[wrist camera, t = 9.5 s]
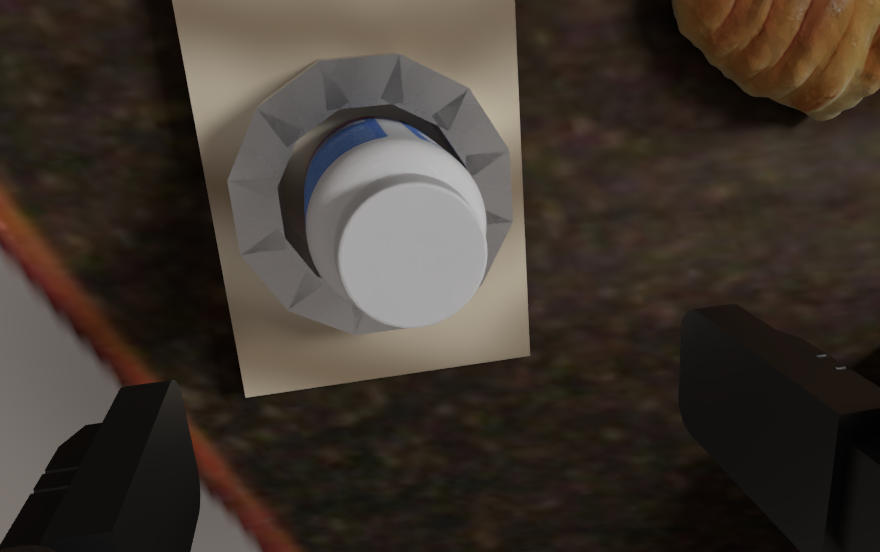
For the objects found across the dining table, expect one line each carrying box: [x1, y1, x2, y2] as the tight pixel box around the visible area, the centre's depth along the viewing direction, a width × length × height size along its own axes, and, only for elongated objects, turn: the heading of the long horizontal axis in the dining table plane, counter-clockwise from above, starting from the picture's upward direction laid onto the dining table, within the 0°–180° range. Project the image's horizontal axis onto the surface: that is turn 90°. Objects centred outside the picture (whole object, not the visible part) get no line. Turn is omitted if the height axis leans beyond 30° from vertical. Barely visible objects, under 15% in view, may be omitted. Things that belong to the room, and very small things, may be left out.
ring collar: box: [227, 52, 513, 335], centre depth 27 cm, size 10×10×2 cm
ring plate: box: [172, 0, 530, 398], centre depth 29 cm, size 16×12×2 cm
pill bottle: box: [304, 116, 488, 328], centre depth 23 cm, size 6×5×10 cm
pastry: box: [672, 0, 880, 121], centre depth 28 cm, size 9×7×4 cm
